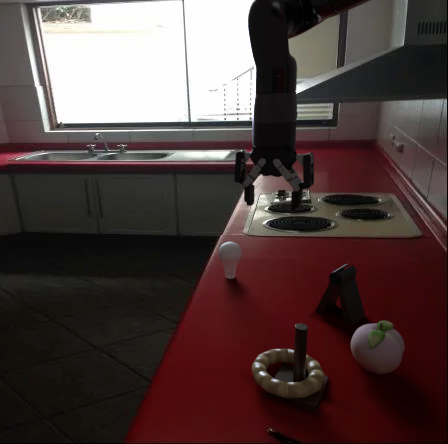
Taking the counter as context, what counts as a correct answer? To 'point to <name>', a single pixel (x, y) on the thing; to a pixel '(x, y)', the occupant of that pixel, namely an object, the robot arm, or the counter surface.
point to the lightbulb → (230, 258)
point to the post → (299, 372)
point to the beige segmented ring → (287, 388)
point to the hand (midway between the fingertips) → (271, 207)
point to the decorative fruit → (378, 347)
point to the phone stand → (343, 295)
